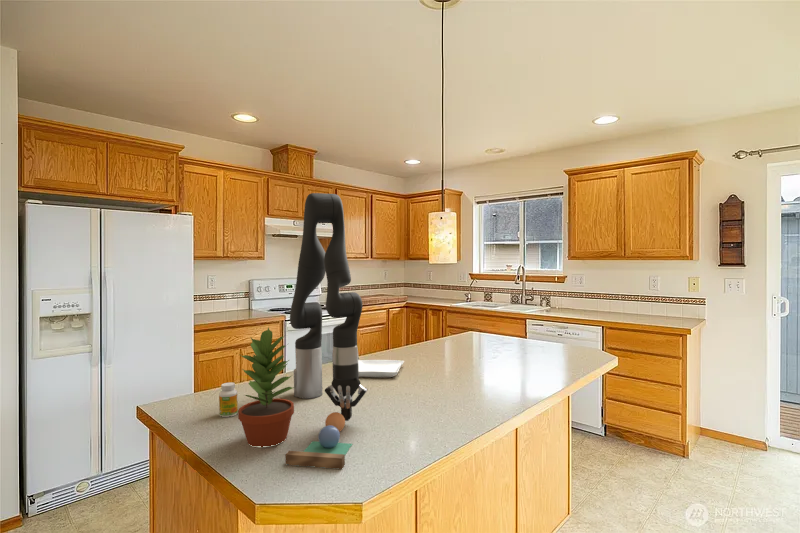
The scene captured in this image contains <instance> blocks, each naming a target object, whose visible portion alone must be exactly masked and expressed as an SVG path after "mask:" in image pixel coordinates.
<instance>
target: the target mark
mask: <svg viewBox="0 0 800 533" xmlns="http://www.w3.org/2000/svg"><path fill="white" fill-rule="evenodd" d="M352 445H353V443H346V442H344V443H343V442H338V443H337V445H336V446H334V447H332V448H325V447H323V446H322V445H321V444H320V442H319V440H318V441H315V440H312V441H311V442H310V444H309V445H308V446H307V447H306V448H305V449H304V450H303V451H302V452H315V453H330V454H344V455H345V456H346V455H347V453H348V452H349V451H350V449H351V447H352ZM349 448H350V449H349Z"/></svg>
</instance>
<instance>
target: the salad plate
mask: <svg viewBox="0 0 800 533" xmlns="http://www.w3.org/2000/svg"><path fill="white" fill-rule="evenodd" d="M404 363H405V360H398V359H397V360H396V359H395V360H394V359H359V360H358V365H359V378H391V377H395V376H397V374H398V373H399V371H400V369H401V367H402V366H403V364H404Z"/></svg>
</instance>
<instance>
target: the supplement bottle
mask: <svg viewBox="0 0 800 533" xmlns="http://www.w3.org/2000/svg"><path fill="white" fill-rule="evenodd" d="M220 386H221V388H220V389H221V391H220V392H219V394H218V405H219V412H218V413H219V416H220V417H221V416H222V417H221V418H230V417H229V416H231V417H233V416H236V415H237V414H238V411H239V407H238V406H239V405H238V402H239V400H238V391H237V389H235V388H236V384H235V382H232V381H231V382H225V383H222V384H221V385H220Z"/></svg>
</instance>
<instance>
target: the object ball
mask: <svg viewBox="0 0 800 533" xmlns="http://www.w3.org/2000/svg"><path fill="white" fill-rule="evenodd" d="M317 438H318V442H320V444H321V445H322V446H323V447H325V448H332V447H334V446H336V445H337V443H340V438H341V434H340V432H339V430H338V429H337V428H336V427H334V426H332V425H328V426H326V425H325V426H323V427H322V428H321V429H320V431H319V433H318V437H317Z"/></svg>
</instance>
